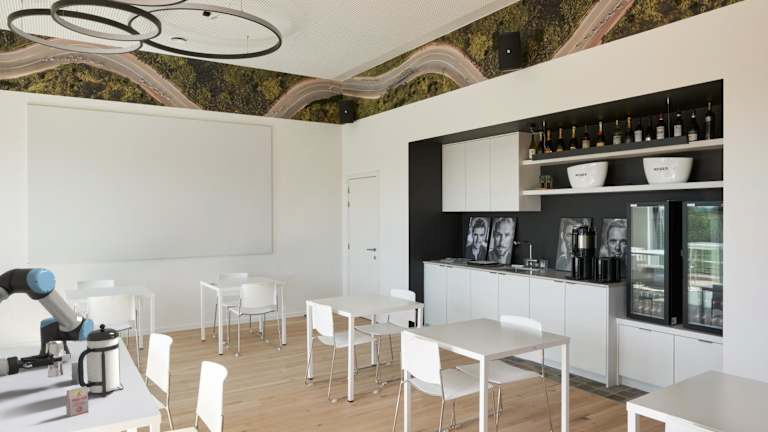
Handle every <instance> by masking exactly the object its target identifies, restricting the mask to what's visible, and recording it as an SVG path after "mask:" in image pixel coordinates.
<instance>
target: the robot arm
mask: <svg viewBox="0 0 768 432" xmlns="http://www.w3.org/2000/svg"><path fill="white" fill-rule="evenodd" d="M56 282H57V281H56V276H55V274H54V273H53V272H52V271H51V270H50V269H47V268H42V267H35V268H34V267H32V268H12V269H10V270H8V271H5V272H3V273H1V275H0V304H1V303H2V302H3V301H6V300H8V298H9V297H11V296H12V295H15V294H26V296H28V297H29V298H30V299H31V300H33V301H38V303H40V304H41V306H42V307H43V308H44V309H45V310H46V311H47V312H48V313H49V314H50V315H51V317H47V318H44V319H42V320H41V321H40V323H39V324H40V326H39V327H40V328H39V331H40V333H39V334H40V350H39V354H36V355H30V356H27V357H20V359H19V357H18V356H17V355H16V356H9V357H7V358H5V357H4V358H0V378H1V377H5V376H7V375H8V376H11V375H12V376H13V375H17V374H19V371H20V369H24V370H31V369H35V368H41V367H46V366H47V367H48V365H54V363H57V362H62V361H63V362H67V361H70V360H71V359H72V354H71V352H70V348H69V347H68V344H67V342H87V341H86V337H87V335H88V334H89V333H90V332H92V331H94V330H95V324H94V323H95V321H93V319H92V318H85V317H84V316H83V315H82V314H81V313H79V312H75V311H74V310H73V308H72V307H71V306H70V305H69V304H68V302H66V301H65V299H64V298H63V297H62V296H61V295H60V294H59V292H58V291H57V290H56V289H55V288H56ZM52 341H63V346H64V355H60V356H55V357H53V358H46V343H48V342H52ZM63 362H62V363H63Z"/></svg>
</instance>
